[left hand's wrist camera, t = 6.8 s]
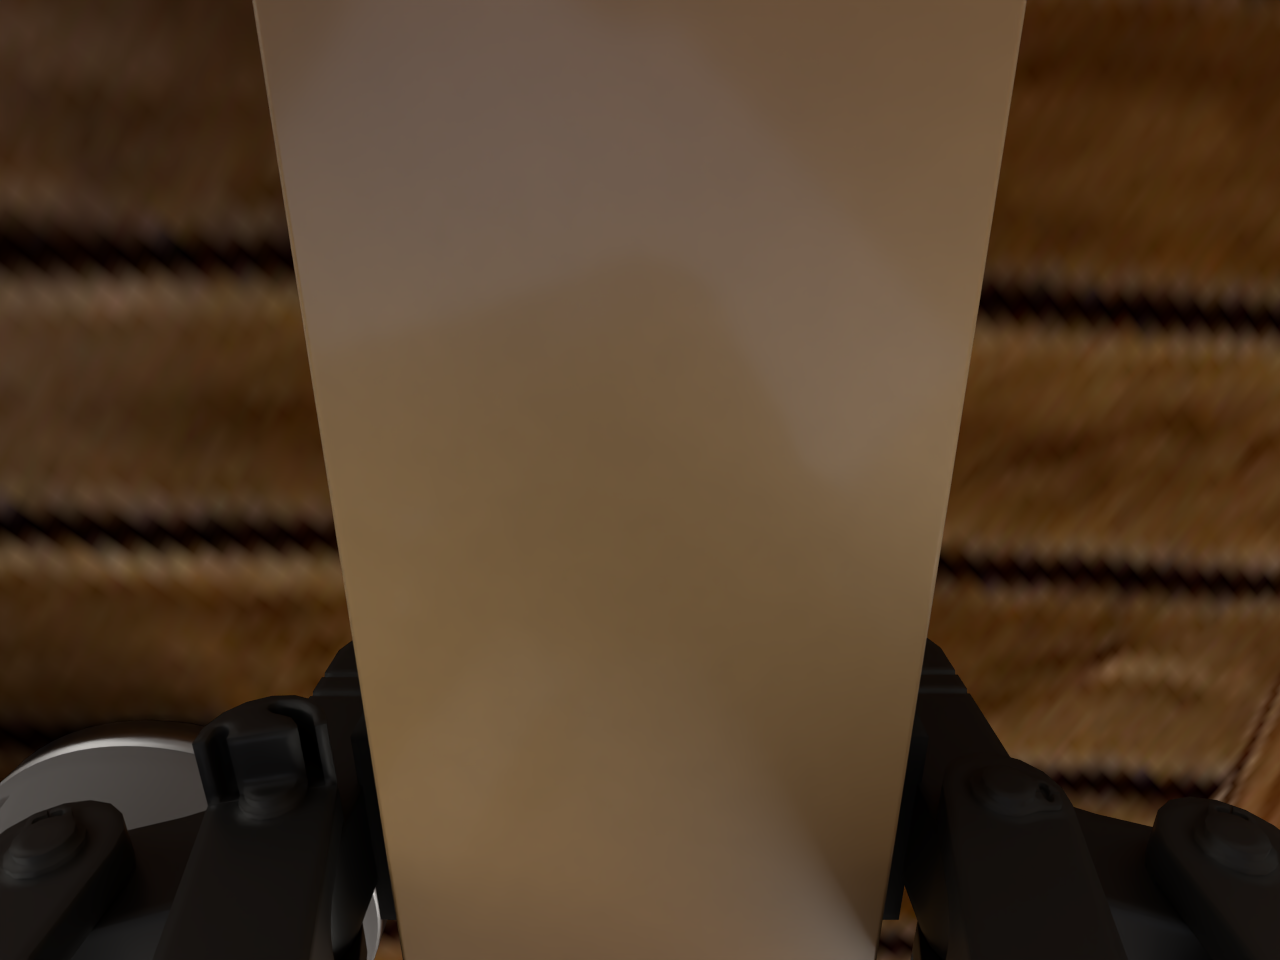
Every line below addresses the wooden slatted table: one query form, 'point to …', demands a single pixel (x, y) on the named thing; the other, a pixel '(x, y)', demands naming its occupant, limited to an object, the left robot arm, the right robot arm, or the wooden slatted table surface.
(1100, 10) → the wooden slatted table surface
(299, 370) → the wooden slatted table surface
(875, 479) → the bar
